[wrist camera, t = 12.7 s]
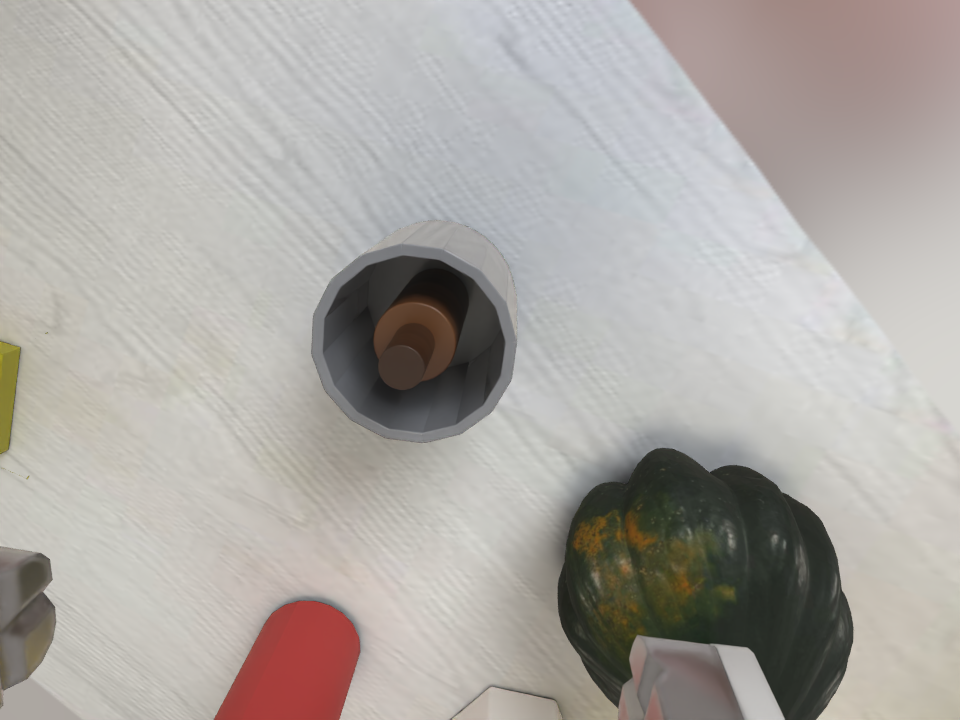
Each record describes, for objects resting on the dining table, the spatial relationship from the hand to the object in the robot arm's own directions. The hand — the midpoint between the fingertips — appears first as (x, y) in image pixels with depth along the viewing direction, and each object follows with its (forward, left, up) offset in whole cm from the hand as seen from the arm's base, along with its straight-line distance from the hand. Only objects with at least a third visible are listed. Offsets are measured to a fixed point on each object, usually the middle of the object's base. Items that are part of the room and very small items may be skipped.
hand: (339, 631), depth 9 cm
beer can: (+26, -8, -30) cm, 40 cm away
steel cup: (+2, -2, -30) cm, 30 cm away
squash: (+15, +14, -30) cm, 36 cm away
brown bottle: (+2, -2, -29) cm, 29 cm away
